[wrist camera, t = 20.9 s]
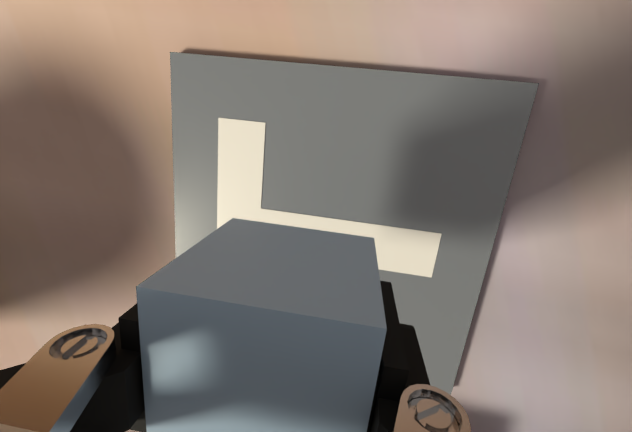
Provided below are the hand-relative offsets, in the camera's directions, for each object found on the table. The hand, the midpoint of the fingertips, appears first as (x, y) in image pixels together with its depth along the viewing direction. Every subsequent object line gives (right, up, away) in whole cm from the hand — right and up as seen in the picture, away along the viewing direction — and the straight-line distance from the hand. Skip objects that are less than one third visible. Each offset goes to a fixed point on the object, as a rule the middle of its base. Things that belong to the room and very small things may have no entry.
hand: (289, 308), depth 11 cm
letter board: (+1, +2, +8) cm, 8 cm away
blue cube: (0, 0, +1) cm, 1 cm away
